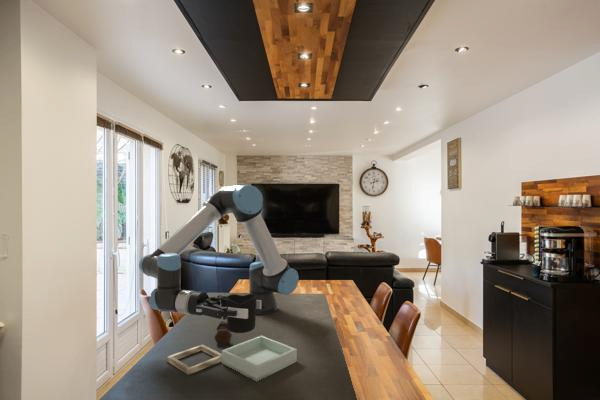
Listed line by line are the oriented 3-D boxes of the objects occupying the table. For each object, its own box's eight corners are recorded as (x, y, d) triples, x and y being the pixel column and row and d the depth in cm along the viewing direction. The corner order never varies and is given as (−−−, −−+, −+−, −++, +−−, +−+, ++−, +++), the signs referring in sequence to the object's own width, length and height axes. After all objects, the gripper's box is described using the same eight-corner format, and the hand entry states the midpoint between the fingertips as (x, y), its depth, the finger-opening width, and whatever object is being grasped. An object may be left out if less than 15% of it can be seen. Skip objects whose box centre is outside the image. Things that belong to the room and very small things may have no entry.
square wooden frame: (202, 348, 119) (202, 344, 119) (224, 360, 110) (224, 355, 110) (166, 361, 109) (166, 356, 109) (188, 374, 101) (188, 369, 101)
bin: (261, 346, 121) (261, 335, 121) (296, 361, 110) (296, 349, 110) (221, 363, 108) (221, 350, 108) (256, 381, 97) (256, 367, 97)
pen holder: (241, 321, 115) (241, 291, 115) (262, 327, 109) (262, 296, 109) (220, 329, 107) (220, 297, 107) (241, 336, 102) (241, 303, 102)
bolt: (225, 334, 138) (224, 348, 123) (213, 328, 137) (212, 342, 122) (232, 320, 138) (232, 333, 124) (221, 315, 138) (220, 327, 123)
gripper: (211, 304, 124) (268, 310, 117) (171, 324, 103) (238, 333, 96) (211, 284, 124) (268, 288, 117) (171, 300, 103) (238, 307, 97)
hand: (254, 309), depth 107 cm, fingers closed on pen holder, 9 cm apart
